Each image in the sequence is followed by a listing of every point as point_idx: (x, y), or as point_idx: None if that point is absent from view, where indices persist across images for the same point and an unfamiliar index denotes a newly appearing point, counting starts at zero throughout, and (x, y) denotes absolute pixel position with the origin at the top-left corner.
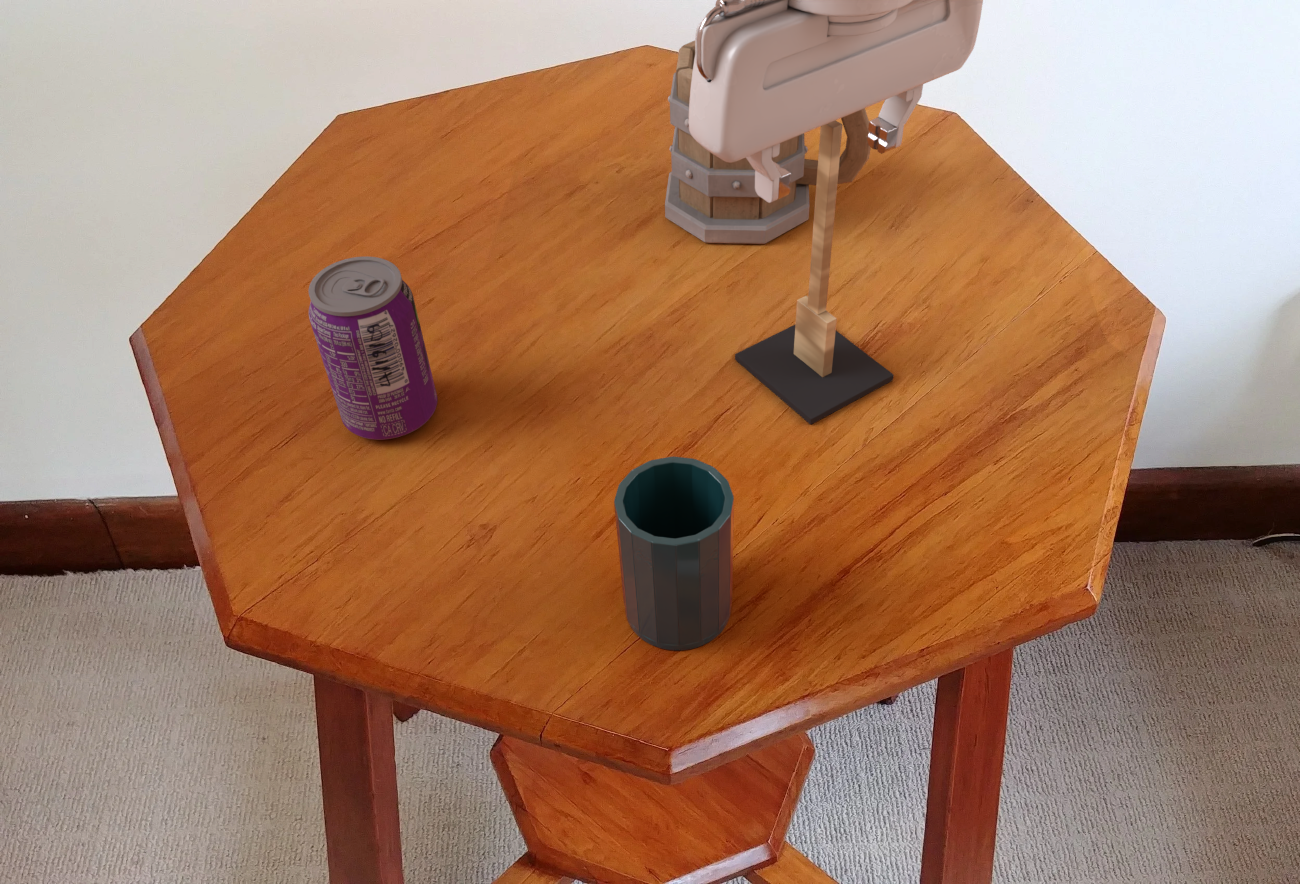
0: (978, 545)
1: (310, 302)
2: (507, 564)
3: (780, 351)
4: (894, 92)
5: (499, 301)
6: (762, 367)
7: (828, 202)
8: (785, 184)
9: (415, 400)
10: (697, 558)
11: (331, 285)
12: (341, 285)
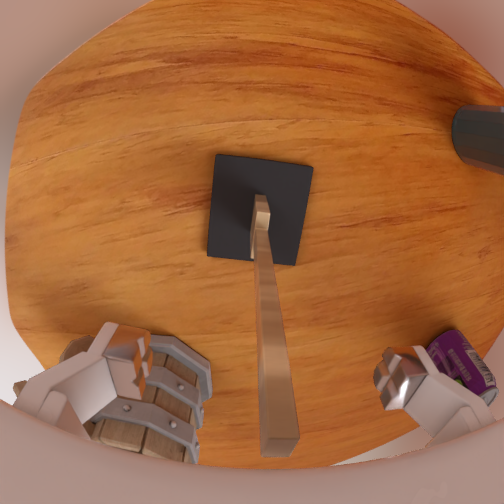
0: (315, 6)
1: None
2: (490, 228)
3: None
4: (115, 461)
5: (345, 386)
6: (292, 239)
7: (279, 311)
8: (410, 362)
9: (457, 342)
10: None
11: None
12: None
